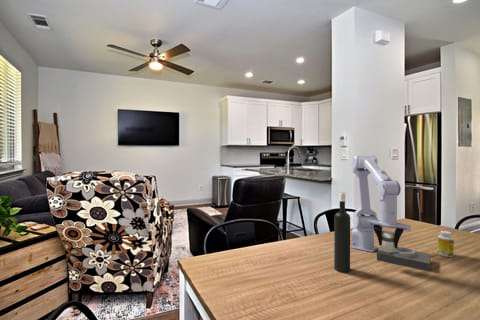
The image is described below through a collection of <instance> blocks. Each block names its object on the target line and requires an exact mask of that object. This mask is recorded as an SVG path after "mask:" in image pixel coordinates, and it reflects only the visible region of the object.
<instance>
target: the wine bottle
mask: <svg viewBox="0 0 480 320" xmlns="http://www.w3.org/2000/svg"><path fill="white" fill-rule="evenodd" d="M338 195H339V211H338V212H336V213H335V214H334V219H333V220H334V223H333V225H334V226H333V229H334V232H333V233H334V234H333V235H334V237H333V238H334V239H333V240H334V241H333V242H334V243H333V245H334V249H333V251H334V253H333V254H334V255H333V258H334V260H333V261H334V262H333V263H334V264H333V265H334V266H333V267H334V268H333V269H334V270H335V271H337V272H339V273H350V272H351V215H350V214H349V213H348V212H346V192H344V191H343V192H342V191H341V192H339V194H338Z"/></svg>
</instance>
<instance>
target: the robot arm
mask: <svg viewBox="0 0 480 320" xmlns="http://www.w3.org/2000/svg"><path fill="white" fill-rule="evenodd" d="M351 167H352V173H353V174H355V175H356V176H355V177H356V183H357V184H356V186H357V196H358V198H357V199H358V209H357V210H355V211H354V212H353V219H352V222H353V228H352V230H351V246H350V249H355V250H359V251H365V252H370V253H374V251H375V250H376V248H377V246H376V245H375V236H376V238H377V240H378V241H377V242H378V244H379V245H378V246H381V245H382V240H381V235H382V231H383V228H387V229H395V230H394V233H395V248H397V247H399V246H398V245H399V241H400V239H401V236H402V235H403V233H404V231H407V232H411V230H412V229H411V228H412V227H411V226H412V225H410V224H405V223H401V222H398V196H399V195H401V190H402V189H401V188H402V187H401V184H400V182H399V180H397V179H396V180H395V179H392V178H391V177H390V176H389V175H388V173H387V172H386V171H385V170H384V169H380V167H379V165H378V158H377V156H376V155H374V154H373V155H356V154H355V155H354V156H353V157H352V160H351ZM370 174H371V175H372V176H371V179H372V180H373V182H374V183H375V185H376V186H377V189H376V190H377V194H378V199H379V204H380V205H379V207H380V208H379V209H380V210H379V211H380V212H379V213H380V214H379V219H378V215H377V212H375V211H374V210H373V209H371V199H370V190H369V189H370V187H369V177H368V176H369V175H370Z"/></svg>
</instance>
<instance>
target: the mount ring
mask: <svg viewBox="0 0 480 320" xmlns="http://www.w3.org/2000/svg"><path fill="white" fill-rule="evenodd" d="M400 251H406V252H409V253H405V252H400ZM415 251H416V250H414V249H412V248H409V247H405V246H398V247H397V248H395V252H393V253H394V254H396V255H399V256H403V257H414V256H415Z"/></svg>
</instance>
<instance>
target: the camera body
mask: <svg viewBox="0 0 480 320" xmlns="http://www.w3.org/2000/svg"><path fill="white" fill-rule="evenodd" d="M414 251H415V256H414V257H403V256H399V255H396V254H394V253H390V252H385V251H383V250H382V245H379V248H378V250H377V252H376V260H377V261H379V262H380V261H381V262H384V263H388V264H394V265H398V266H402V265H403V266H404V267H407V268H412V269H416V270H422V271H426V272H430V270H431V261H432V260H431V258H432V254H431V253H427V252H421V251H416V250H414ZM400 252H405V253H409V252H406V251H400Z"/></svg>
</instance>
